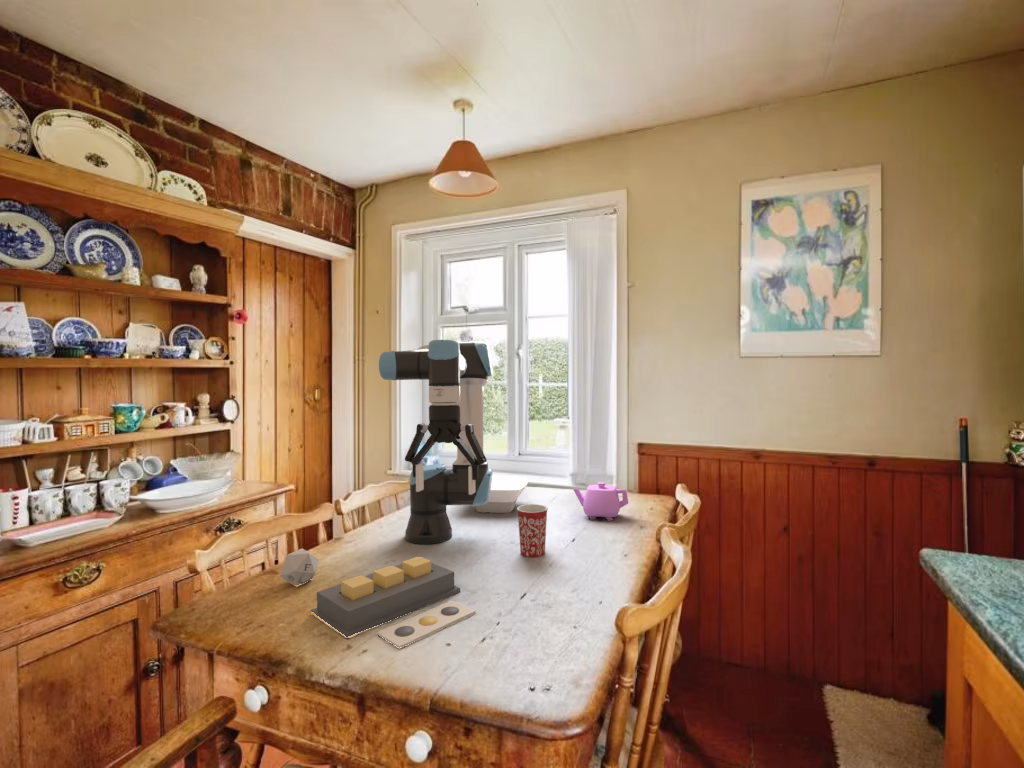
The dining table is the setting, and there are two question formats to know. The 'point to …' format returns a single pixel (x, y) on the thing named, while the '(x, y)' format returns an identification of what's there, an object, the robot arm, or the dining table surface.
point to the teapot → (602, 500)
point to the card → (426, 623)
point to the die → (299, 567)
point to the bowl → (503, 494)
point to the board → (384, 601)
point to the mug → (532, 529)
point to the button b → (388, 576)
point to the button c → (416, 567)
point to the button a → (357, 587)
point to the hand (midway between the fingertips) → (445, 492)
